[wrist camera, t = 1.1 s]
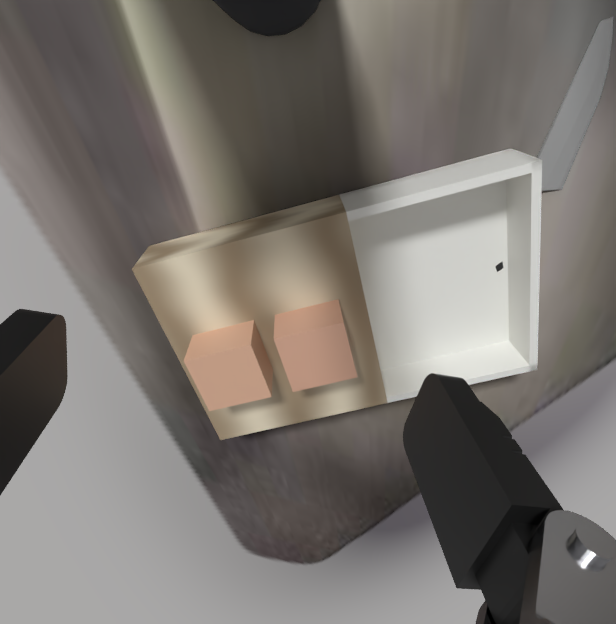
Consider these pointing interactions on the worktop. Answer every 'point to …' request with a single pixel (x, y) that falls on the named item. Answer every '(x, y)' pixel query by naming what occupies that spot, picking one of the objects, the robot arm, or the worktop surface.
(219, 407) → the tile
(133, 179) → the worktop surface
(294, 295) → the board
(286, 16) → the wine bottle
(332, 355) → the tile
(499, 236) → the tray
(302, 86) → the worktop surface
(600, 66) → the chef's knife
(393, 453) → the worktop surface
